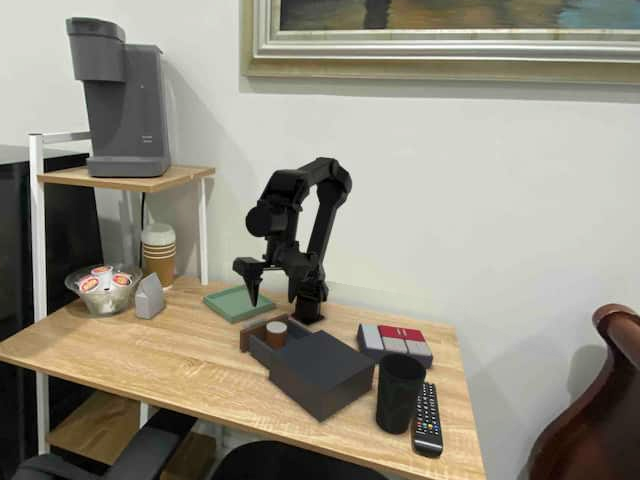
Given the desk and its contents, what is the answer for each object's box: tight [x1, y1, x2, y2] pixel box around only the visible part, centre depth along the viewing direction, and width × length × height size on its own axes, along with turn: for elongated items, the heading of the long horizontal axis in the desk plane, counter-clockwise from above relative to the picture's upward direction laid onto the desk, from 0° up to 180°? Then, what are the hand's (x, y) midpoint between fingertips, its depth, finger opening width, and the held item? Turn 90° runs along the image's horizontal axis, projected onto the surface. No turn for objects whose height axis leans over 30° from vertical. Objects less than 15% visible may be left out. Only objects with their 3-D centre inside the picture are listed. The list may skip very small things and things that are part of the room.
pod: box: [266, 322, 287, 350], centre depth 87 cm, size 4×4×4 cm
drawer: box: [239, 313, 313, 369], centre depth 87 cm, size 18×13×5 cm
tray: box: [202, 283, 276, 324], centre depth 108 cm, size 14×14×2 cm
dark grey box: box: [268, 328, 377, 423], centre depth 77 cm, size 15×15×7 cm
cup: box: [375, 353, 428, 435], centre depth 67 cm, size 8×8×12 cm
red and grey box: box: [356, 323, 434, 370], centre depth 90 cm, size 11×4×15 cm
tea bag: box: [134, 271, 165, 320], centre depth 100 cm, size 4×7×10 cm, turn 164°
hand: (272, 304), depth 83 cm, fingers open, 9 cm apart
